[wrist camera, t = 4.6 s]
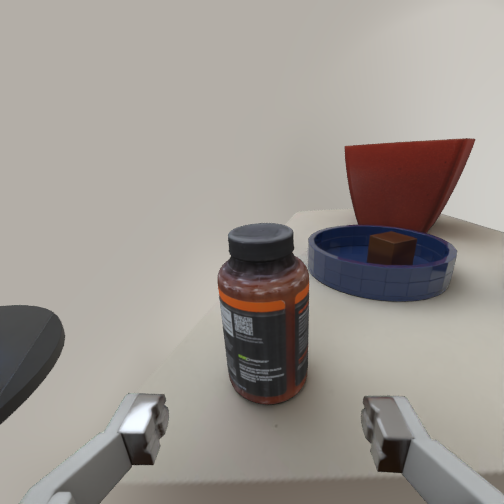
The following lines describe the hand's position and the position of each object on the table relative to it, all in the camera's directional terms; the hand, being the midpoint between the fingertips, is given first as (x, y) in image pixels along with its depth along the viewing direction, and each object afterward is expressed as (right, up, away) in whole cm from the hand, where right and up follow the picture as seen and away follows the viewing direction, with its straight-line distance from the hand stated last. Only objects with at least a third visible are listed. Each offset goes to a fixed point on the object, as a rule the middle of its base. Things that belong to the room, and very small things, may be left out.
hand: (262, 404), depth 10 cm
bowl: (+16, +4, +25) cm, 30 cm away
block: (+19, +5, +25) cm, 31 cm away
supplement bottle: (+1, -3, +9) cm, 10 cm away
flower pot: (+32, +12, +45) cm, 57 cm away
